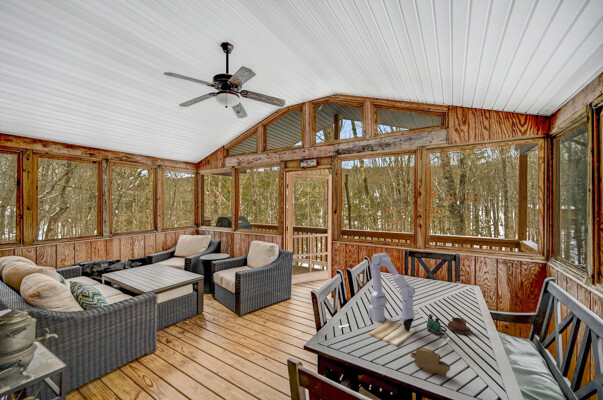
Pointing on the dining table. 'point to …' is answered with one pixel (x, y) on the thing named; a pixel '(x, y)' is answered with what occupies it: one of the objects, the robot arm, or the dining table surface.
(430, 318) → the binoculars
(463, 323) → the brown cowboy hat
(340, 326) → the cell phone
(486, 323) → the dining table surface
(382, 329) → the board
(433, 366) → the wooden carving
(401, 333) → the maple plank
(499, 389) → the dining table surface
